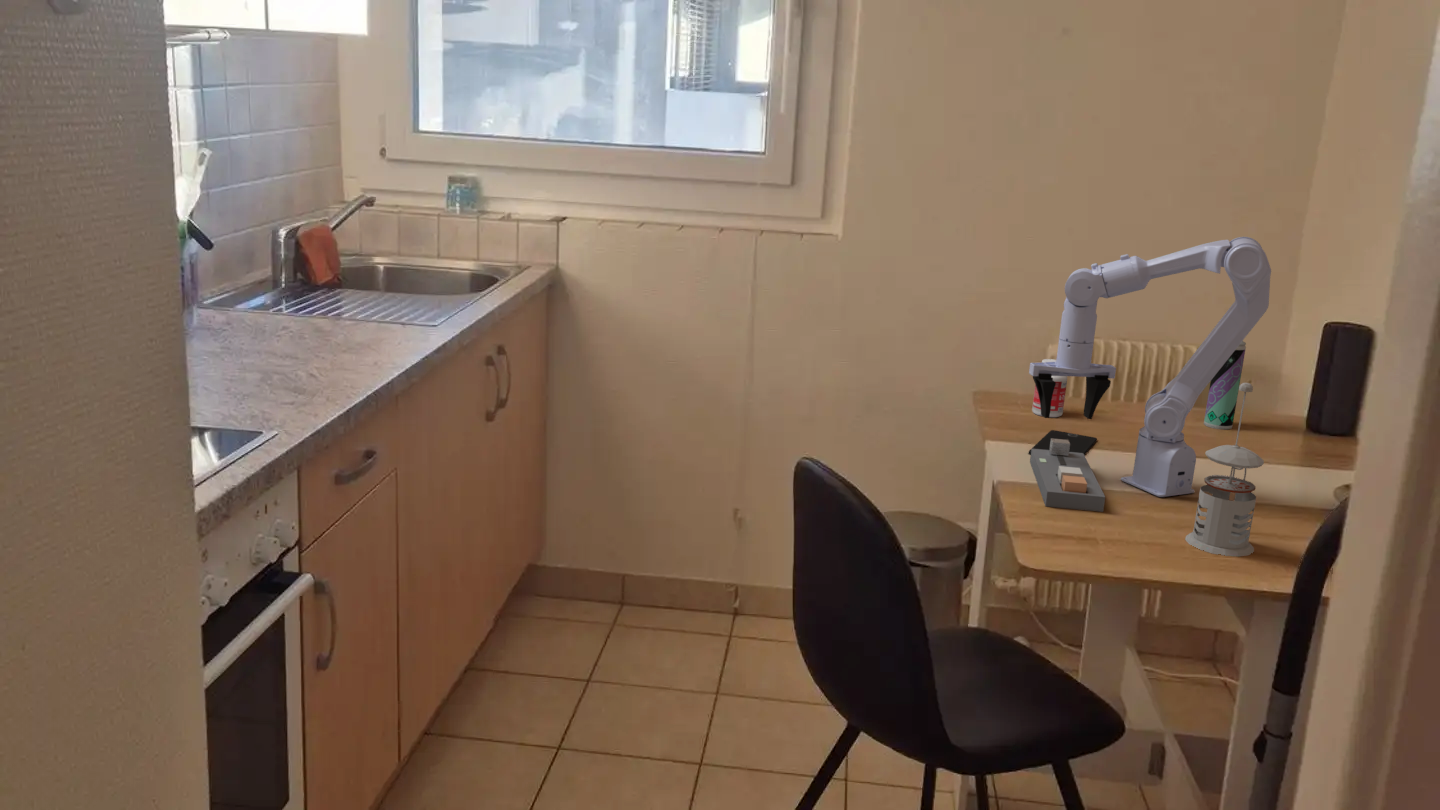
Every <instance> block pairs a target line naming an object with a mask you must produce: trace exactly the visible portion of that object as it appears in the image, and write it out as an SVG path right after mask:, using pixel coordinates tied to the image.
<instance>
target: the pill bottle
mask: <svg viewBox="0 0 1440 810" xmlns="http://www.w3.org/2000/svg"><path fill="white" fill-rule="evenodd" d="M1042 362H1056V359H1054V358H1053V359H1052V358H1044V359H1042V360H1041V363H1042ZM1051 378H1053V381H1054V382H1056V385H1055V388H1054V391H1053V395H1052V400H1051V409H1050V416H1049V418H1058V417H1061V416H1062V415H1063V413H1064V406H1065V399H1066V392H1067V384H1068V376H1051ZM1033 393H1034V394H1033V399H1032V400H1033V401H1032V407H1031V412H1032V413H1033V414H1034V415H1037V416H1040V417H1043V416H1042V415H1041V405H1040V399H1039V394H1038V391H1037V387H1036V385H1035V384H1034V392H1033Z"/></svg>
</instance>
